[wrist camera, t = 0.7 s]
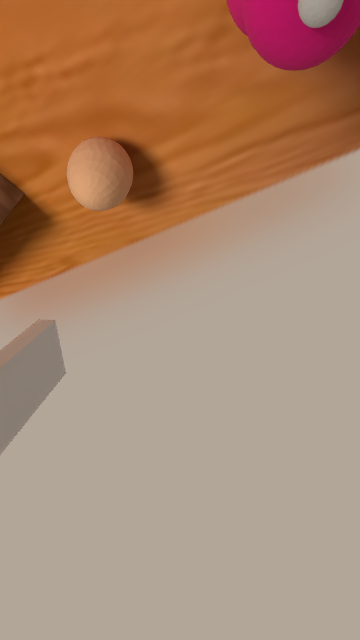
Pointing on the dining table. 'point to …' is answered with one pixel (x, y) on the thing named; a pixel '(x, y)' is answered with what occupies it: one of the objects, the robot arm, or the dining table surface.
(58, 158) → the dining table surface
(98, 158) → the egg
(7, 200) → the walnut riser
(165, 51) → the dining table surface
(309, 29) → the pepper mill
